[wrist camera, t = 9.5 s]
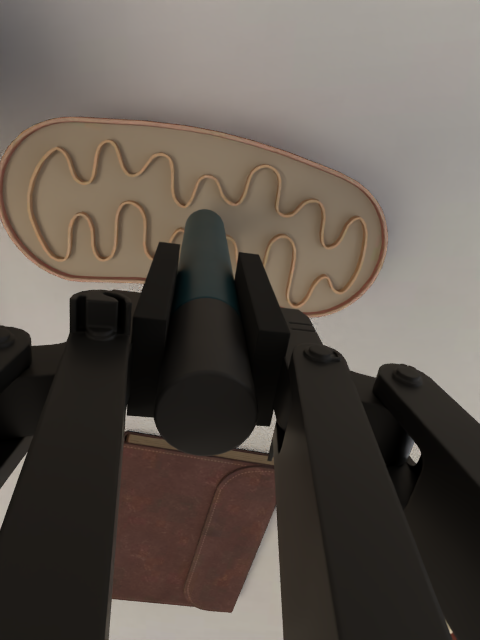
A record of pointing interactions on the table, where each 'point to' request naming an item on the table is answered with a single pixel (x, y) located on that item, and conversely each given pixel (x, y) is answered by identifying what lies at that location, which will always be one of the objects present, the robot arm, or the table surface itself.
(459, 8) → the table surface
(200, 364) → the pen
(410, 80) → the table surface
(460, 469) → the robot arm
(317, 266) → the anatomical model
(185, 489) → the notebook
